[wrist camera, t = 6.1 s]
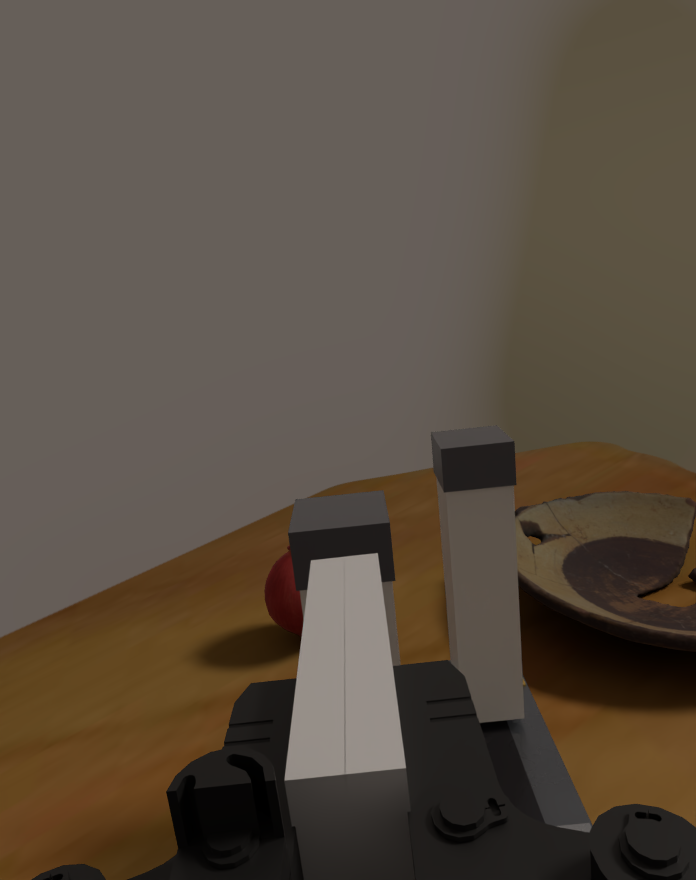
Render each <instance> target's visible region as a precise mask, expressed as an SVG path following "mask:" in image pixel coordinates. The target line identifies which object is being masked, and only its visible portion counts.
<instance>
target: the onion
mask: <svg viewBox="0 0 696 880" xmlns="http://www.w3.org/2000/svg"><path fill="white" fill-rule="evenodd" d="M287 549H288V550H289V551H288V552H287V553H286V554H284V555H283V556H282V557H281V558H280V559H279V560H278V561H276V563H275V564H274V565H273V567H272V569H271V571H270V573H269V575H268V578H267V580H266V584H265V602H266V606H267V609H268V612H269V615H270V616H271V618H272V619H273V620H274V621H275V623H277V624H278V625H279V626H281V627H282V628H284V629H285V630H287V631H289V632H292V633H295V634H297V635H299V636H300V637H301V638H302V630H303V622H304V619H303V612H302V604H301V597H300V591H296V586H295V579H294V572H293V565H292V557H291V550H290V545H289V546H288V547H287Z"/></svg>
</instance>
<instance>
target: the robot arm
mask: <svg viewBox="0 0 696 880" xmlns="http://www.w3.org/2000/svg"><path fill="white" fill-rule="evenodd" d="M166 793H167V798H168V802H169V807H170V812H171V816H172V821H173V826H174V831H175V835H176V840H177V845H178V851H177V854H176V855H175V856H174V857H173V858H171V859H170V860H168V861H167V862H165V863H164V864H162V865H160V866H158V867H156V868H154V869H152V870H150V871H148V872H146V873H143V874H141V875H138V876H135V877H133V878H130V879H128V880H696V827H694V826H693V825H692V824H690V823H689V822H688V821H687V820H685V819H684V818H682V817H680V816H678V815H675V814H673V813H671V812H668V811H666V810H664V809H661V808H659V807H652V806H646V805H640V804H631V805H623V806H616V807H613V808H611V809H610V810H608V811H606V812H605V813H603V814H601V815H599V816H598V818H597V820H596V821H595V823H594V825H593V826H592V828H591V830H590V833H589V832H584V831H578V830H572V829H566V828H561V827H557V826H553V825H549V824H546V823H542V822H540V821H538V820H536V819H534V818H532V817H529V816H527V815H526V814H524V813H523V812H522V811H520V810H519V809H518V808H516V807H515V806H514V805H513V804H512V803H511V802H510V800H509V798H508V797H507V796H506V795H504V793H503V791H502V789H501V787H500V785H499V782H498V779H497V776H496V773H495V770H494V767H493V763H492V760H491V757H490V754H489V751H488V748H487V744H486V741H485V738H484V735H483V732H482V729H481V726H480V722H479V719H478V718H477V713H476V710H475V707H474V703H473V700H472V698H471V694H470V691H469V688H468V684H467V681H466V678H465V676H464V675H463V674H462V673H461V672H460V671H459V670H458V669H457V668H456V667H455V666H453V665H452V664H451V663H450V662H449V661H448V660H444V661H435V662H426V663H416V664H407V665H398V666H393V665H392V658H391V650H390V643H389V635H388V627H387V620H386V612H385V605H384V597H383V589H382V582H381V574H380V567H379V559H378V553H374V554H365V555H356V556H347V557H338V558H329V559H319V560H311V564H310V572H309V581H308V589H307V597H306V606H305V614H304V622H303V630H302V639H301V647H300V655H299V664H298V672H297V678H296V679H286V680H277V681H268V682H258V683H251V684H250V685H249V686H248V687H247V689H246V690H245V691H244V692H243V693H242V695H241V696H240V697H239V698H238V699H237V701H236V702H235V703H234V707H233V711H232V714H231V718H230V722H229V728H228V729H227V733H226V737H225V741H224V747H223V748H222V750H218V751H214V752H210V753H208V754H206V755H204V756H202V757H200V758H198V759H196V760H194V761H192V762H191V763H190V764H188V765H187V766H186V767H185V768H184V769H183V770H182V771H180V772H179V773H178V774H177V775H176V776H175V778H174V779H173V781H172V783H171V785H170V786H169V788H168V790H167V791H166ZM32 880H106V879H105V878H104V876H103V875H102V873H101V872H100V870H98V869H96V868H93V867H90V866H88V865H85V864H76V865H63V866H60V867H58V868H55V869H52V870H49V871H47V872H44V873H41V874H39V875H38V876H36V877H35V878H33V879H32Z"/></svg>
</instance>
